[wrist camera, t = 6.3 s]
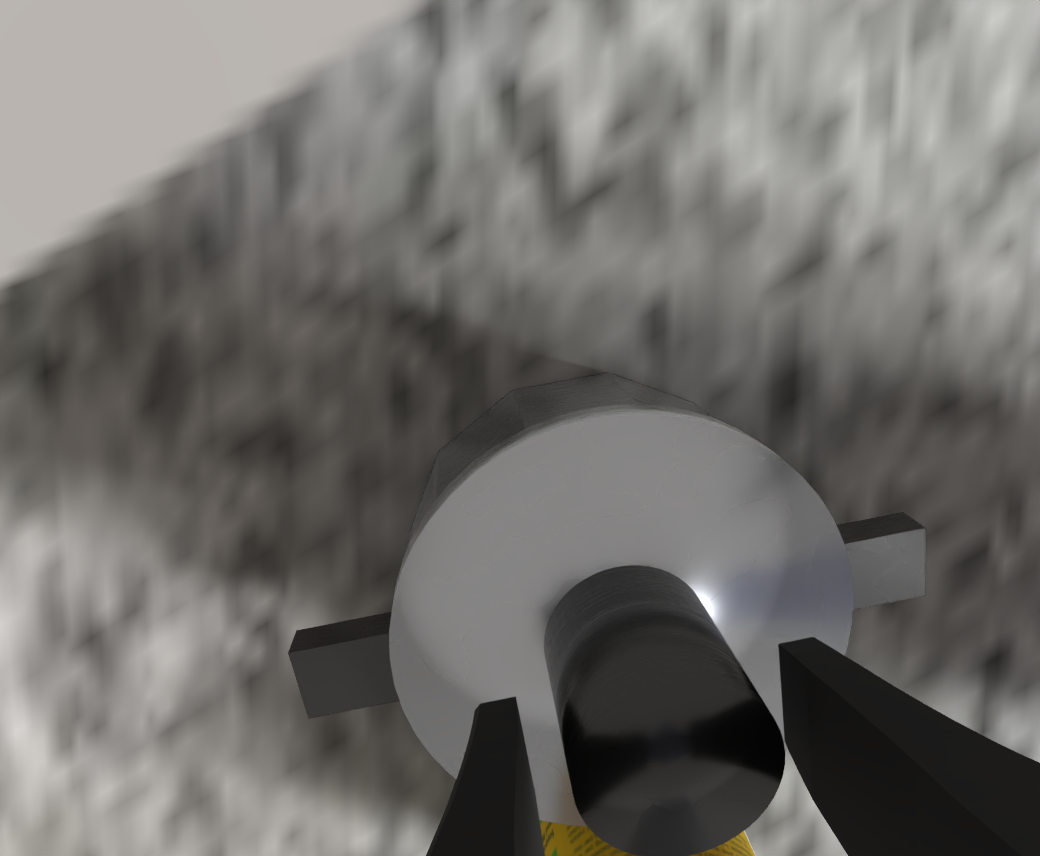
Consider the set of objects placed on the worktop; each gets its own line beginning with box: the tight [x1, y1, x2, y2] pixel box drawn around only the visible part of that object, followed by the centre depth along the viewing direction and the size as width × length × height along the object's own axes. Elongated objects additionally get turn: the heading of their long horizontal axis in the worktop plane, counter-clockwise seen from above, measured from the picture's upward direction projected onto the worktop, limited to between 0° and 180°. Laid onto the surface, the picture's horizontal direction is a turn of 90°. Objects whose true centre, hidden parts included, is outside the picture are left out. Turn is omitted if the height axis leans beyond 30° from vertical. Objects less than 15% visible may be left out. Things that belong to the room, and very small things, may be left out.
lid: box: [389, 404, 854, 856], centre depth 13 cm, size 9×9×4 cm
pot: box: [288, 373, 926, 718], centre depth 17 cm, size 13×9×4 cm, turn 99°
